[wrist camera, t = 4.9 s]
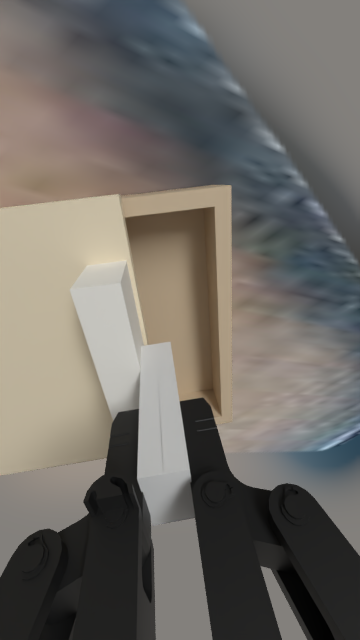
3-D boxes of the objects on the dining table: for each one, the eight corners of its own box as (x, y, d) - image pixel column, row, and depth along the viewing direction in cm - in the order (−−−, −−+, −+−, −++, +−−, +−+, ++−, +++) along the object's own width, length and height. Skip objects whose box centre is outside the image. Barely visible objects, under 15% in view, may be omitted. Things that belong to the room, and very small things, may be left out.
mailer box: (36, 418, 22) (17, 457, 19) (-73, 218, 14) (-134, 228, 11) (220, 389, 23) (232, 422, 19) (213, 184, 15) (231, 185, 12)
